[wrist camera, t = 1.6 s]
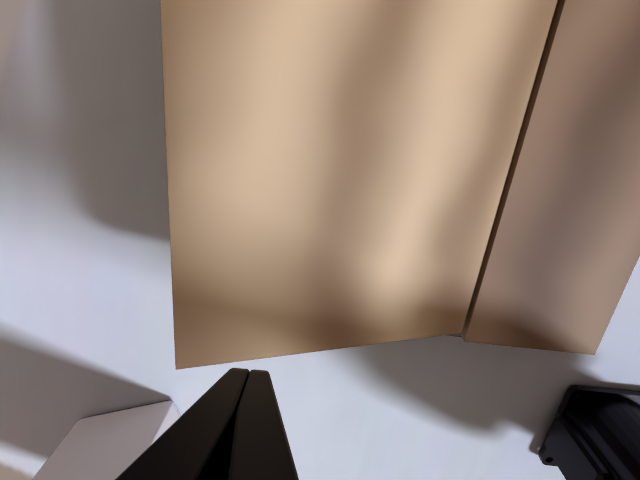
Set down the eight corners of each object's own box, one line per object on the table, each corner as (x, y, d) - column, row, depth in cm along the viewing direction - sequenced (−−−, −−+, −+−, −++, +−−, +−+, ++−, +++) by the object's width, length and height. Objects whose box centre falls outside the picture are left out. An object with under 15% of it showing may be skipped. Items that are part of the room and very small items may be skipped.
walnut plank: (727, -37, 15) (780, -55, 13) (572, 333, 22) (594, 354, 20) (557, -57, 15) (588, -78, 13) (453, 321, 21) (464, 341, 20)
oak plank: (534, -47, 15) (575, -62, 13) (440, 314, 21) (461, 332, 19) (156, -166, 10) (151, -211, 9) (176, 342, 16) (175, 369, 15)
